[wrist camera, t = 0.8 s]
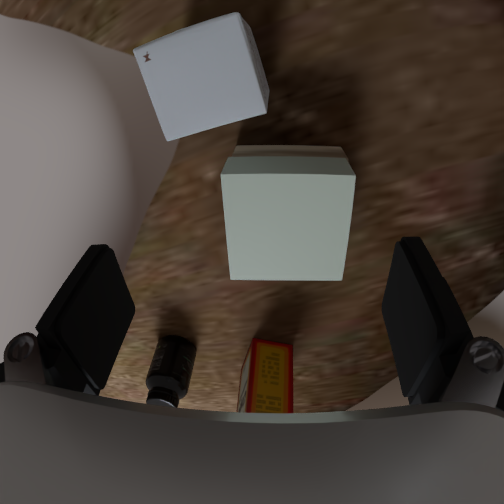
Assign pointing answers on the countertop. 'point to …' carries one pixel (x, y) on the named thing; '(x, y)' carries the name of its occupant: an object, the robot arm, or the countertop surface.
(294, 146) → the tower bottom block
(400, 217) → the countertop surface
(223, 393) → the countertop surface
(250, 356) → the baking soda box
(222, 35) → the supplement box
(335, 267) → the tower top block
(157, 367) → the supplement bottle
